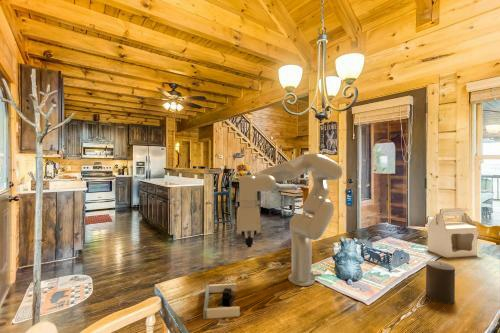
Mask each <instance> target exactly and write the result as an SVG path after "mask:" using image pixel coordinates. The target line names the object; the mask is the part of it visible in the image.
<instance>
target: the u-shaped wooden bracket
mask: <svg viewBox="0 0 500 333" xmlns="http://www.w3.org/2000/svg"><path fill="white" fill-rule="evenodd" d="M225 288H230V289H232V292H237V283H236V282H234V283H218V284H217V283H216V284H206V286H205V294H204V303H203V314H202V315H203V318H202V319H203V320H205V319H208V320H209V319H220V318H222V319H223V318H233V317H234V318H235V317H240V314H241V312H240V309H241V308H240V306H239V305H238V306H231V307H223V306H221V307H211V308H210V307H209V297H210V294H213V293H214V294H215V293H223V291H224V289H225Z"/></svg>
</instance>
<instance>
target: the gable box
mask: <svg viewBox="0 0 500 333" xmlns="http://www.w3.org/2000/svg"><path fill="white" fill-rule="evenodd" d="M444 217H458V219H457V221H447V222H446V221H445V220H444ZM427 251H429V252H431V253H434V254H436V255H439V256H441V257H444V258H458V257H461V258H462V257H463V258H464V257H475V256H478V227H477V225H476V224H475V222H473V220H472V218H470V216H469V215H468V214H467V213H466V210H464V208H459V207H458V208H441V209H440V210H439V213H437V214H435V215H434V216H433V217H432V219H430V220H429V222H428V223H427Z"/></svg>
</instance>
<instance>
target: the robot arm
mask: <svg viewBox="0 0 500 333" xmlns="http://www.w3.org/2000/svg"><path fill="white" fill-rule="evenodd" d="M307 172H309V173H310V174H311V178H312V182H313V183H312V184H313V185H312V188H311V190H310V192H309V193H308V195H307V197H306V198H305V200H304V202H303V203H302V211H303V212H304V214H295V215H293V216H292V217H291V218H290V220H289V232H290V238H291V273H290V274H289V275H288V281H289V283H291V284H293V285H296V286H299V287H300V286H301V287H308V286H312V285H314V284H315V282H316V279H315V278H316V277H317V278H318V277H322V276H323V275H322V272H320V271H317V270H312V269H313V268H312V263H313V261H312V251H313V250H312V248H313V246H312V245H313V243H312V240H313V241H315V240H319V239H320V238H321V237H322V236H323V235H324V233H325V231H326V229H327V227H328V226H329V224H330V222H331V220H332V218H333V216H334V212H335V206H334V203H333V202H332V201H331V200H330V199H328V197H329V196H330V185H329V182H328V181H333V182H334V181H338V180H339V179H340V178H342V176H343V168H342V167H341V165H340V164H339V163H338V162H336V161H335V160H332V159H331V158H328V157H327V156H325V155H324V154H320V153H305V154H301V155H299V156H297V157H294V158H292V159H290V160H287V161H285V162H283V163H279V164H276V165H275V166H270V167H267V168H264V169H262V170H260V171H257V172H255V173H253V174H248V175H247V174H244V175H241V176H240V177H239V179H238V180H239V182H238V183H239V188H238V189H239V206H238V207H237V209H236V210H237V211H236V234H237V235H241V236H243V237H244V238H245V239H244V240H245V246H247V248H252V246H253V245H254V242H253V241H254V240H253V239H254V237H255V236H256V235H257V234H261V233H262V223H261V212H260V207H259V206H258V205H260V204H261V200H259V199H258V192H263V193H264V192H271V191H272V190H274V189H275V187H276V185H277V184H276V182H277V183H278V182H285V181H291V180H293V179H295V178H297V177H300V176H301V175H303V174H306V173H307ZM305 214H306V215H305ZM248 232H250V233H249V234H248Z"/></svg>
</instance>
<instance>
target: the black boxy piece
mask: <svg viewBox="0 0 500 333" xmlns="http://www.w3.org/2000/svg"><path fill="white" fill-rule="evenodd" d="M232 292H233V291H232V289H230V288H225V289H224V291H223V292H222V296H221V298H220V299H219V302H218V304H217V307H233V306H232V305H233V304H234V301H235V299H236V296H237V295H236V294H232Z"/></svg>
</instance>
